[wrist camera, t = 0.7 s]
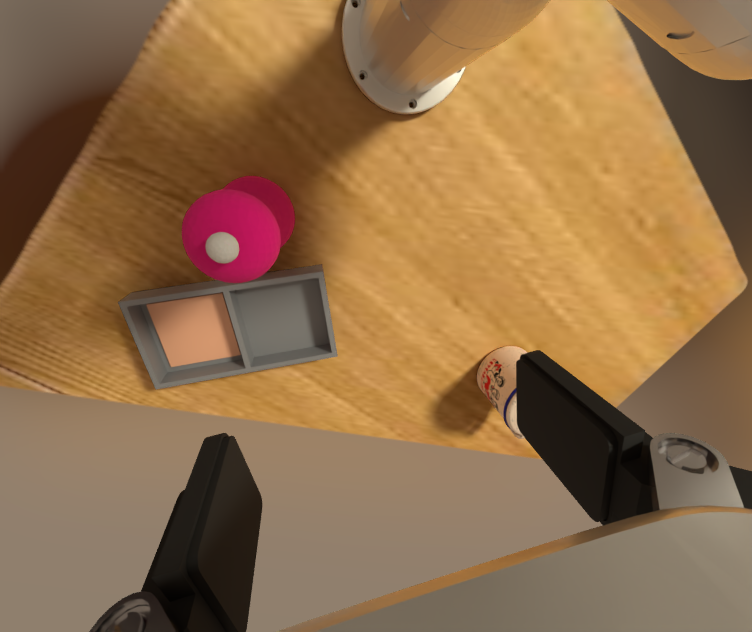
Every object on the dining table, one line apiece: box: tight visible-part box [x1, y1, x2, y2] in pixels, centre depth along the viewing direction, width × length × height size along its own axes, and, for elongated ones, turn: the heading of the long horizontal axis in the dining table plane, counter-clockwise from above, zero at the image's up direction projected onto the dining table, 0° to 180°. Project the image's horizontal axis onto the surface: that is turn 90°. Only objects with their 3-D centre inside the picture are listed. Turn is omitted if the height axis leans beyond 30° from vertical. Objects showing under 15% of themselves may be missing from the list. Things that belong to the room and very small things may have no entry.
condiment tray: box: [118, 264, 337, 389], centre depth 40 cm, size 11×21×3 cm, turn 96°
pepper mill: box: [182, 176, 295, 283], centre depth 28 cm, size 7×7×20 cm
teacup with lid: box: [477, 346, 527, 439], centre depth 47 cm, size 12×9×12 cm
